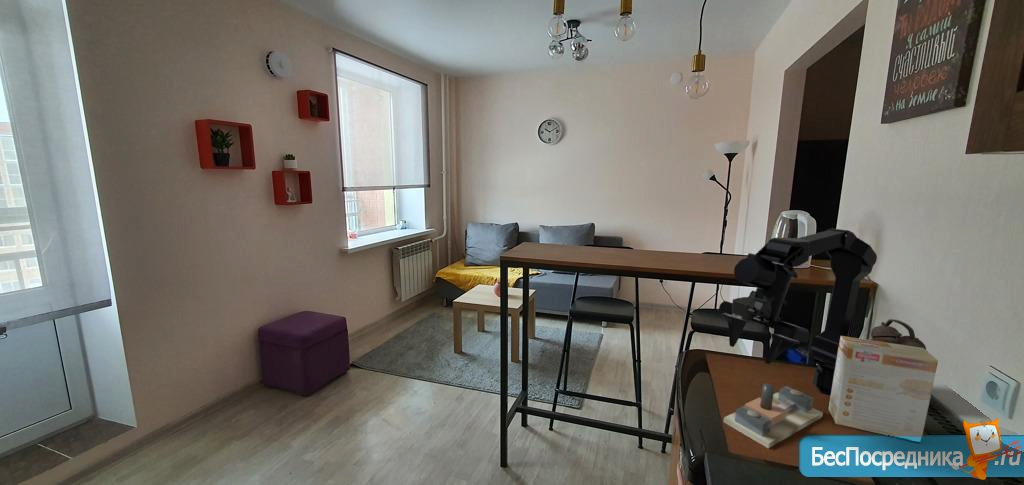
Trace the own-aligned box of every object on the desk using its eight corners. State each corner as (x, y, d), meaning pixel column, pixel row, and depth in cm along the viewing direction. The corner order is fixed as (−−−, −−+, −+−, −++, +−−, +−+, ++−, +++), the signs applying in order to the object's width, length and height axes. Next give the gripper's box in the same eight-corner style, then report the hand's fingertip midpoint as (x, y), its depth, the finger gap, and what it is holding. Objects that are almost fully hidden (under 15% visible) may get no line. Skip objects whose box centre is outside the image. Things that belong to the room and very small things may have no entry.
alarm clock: (926, 410, 97) (943, 334, 94) (892, 407, 99) (907, 331, 95) (884, 380, 111) (898, 313, 108) (855, 377, 113) (867, 311, 109)
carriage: (758, 404, 94) (762, 376, 93) (785, 418, 89) (790, 388, 88) (743, 411, 91) (747, 382, 90) (771, 426, 86) (775, 395, 85)
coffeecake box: (907, 425, 91) (923, 347, 88) (922, 444, 85) (940, 360, 81) (826, 408, 98) (839, 334, 94) (835, 424, 91) (849, 345, 88)
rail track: (777, 396, 103) (779, 380, 102) (822, 417, 94) (825, 399, 93) (723, 422, 92) (725, 404, 91) (768, 448, 83) (770, 429, 82)
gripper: (713, 274, 97) (693, 333, 98) (789, 296, 79) (763, 369, 80) (743, 283, 101) (723, 340, 102) (822, 307, 84) (797, 375, 85)
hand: (748, 354), depth 92 cm, fingers open, 9 cm apart
